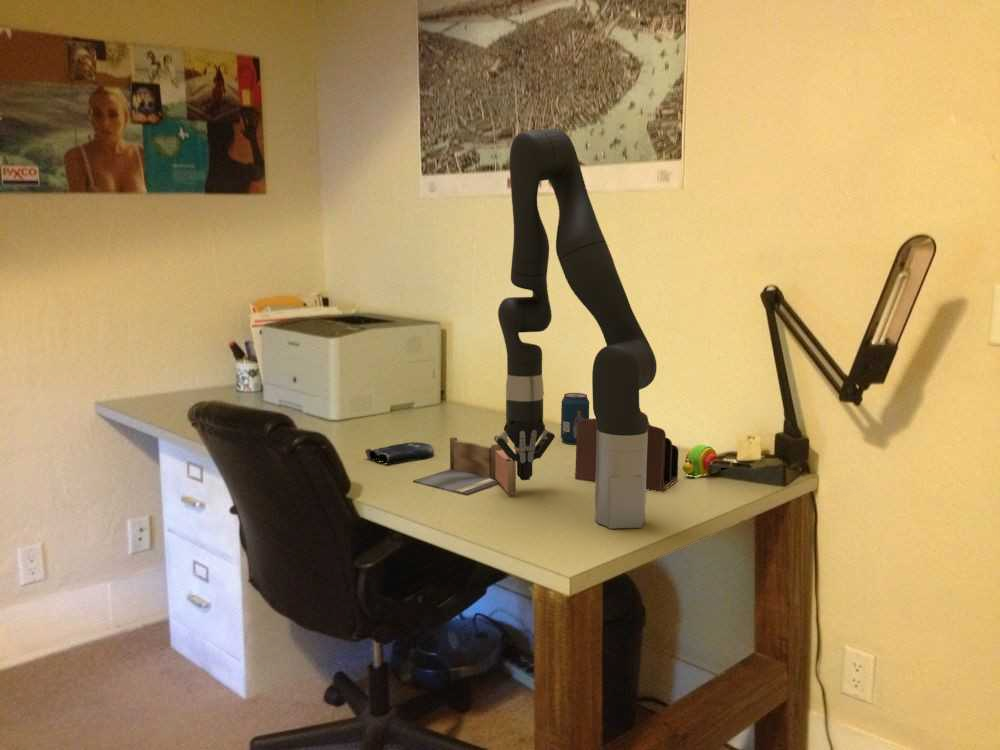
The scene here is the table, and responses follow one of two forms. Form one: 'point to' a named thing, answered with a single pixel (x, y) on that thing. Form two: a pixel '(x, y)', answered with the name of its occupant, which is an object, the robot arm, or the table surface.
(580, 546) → the table surface
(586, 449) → the letter holder
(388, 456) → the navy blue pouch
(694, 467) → the toy measuring tape
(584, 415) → the soda can
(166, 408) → the table surface
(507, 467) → the swing panel
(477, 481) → the grey and brown panels
